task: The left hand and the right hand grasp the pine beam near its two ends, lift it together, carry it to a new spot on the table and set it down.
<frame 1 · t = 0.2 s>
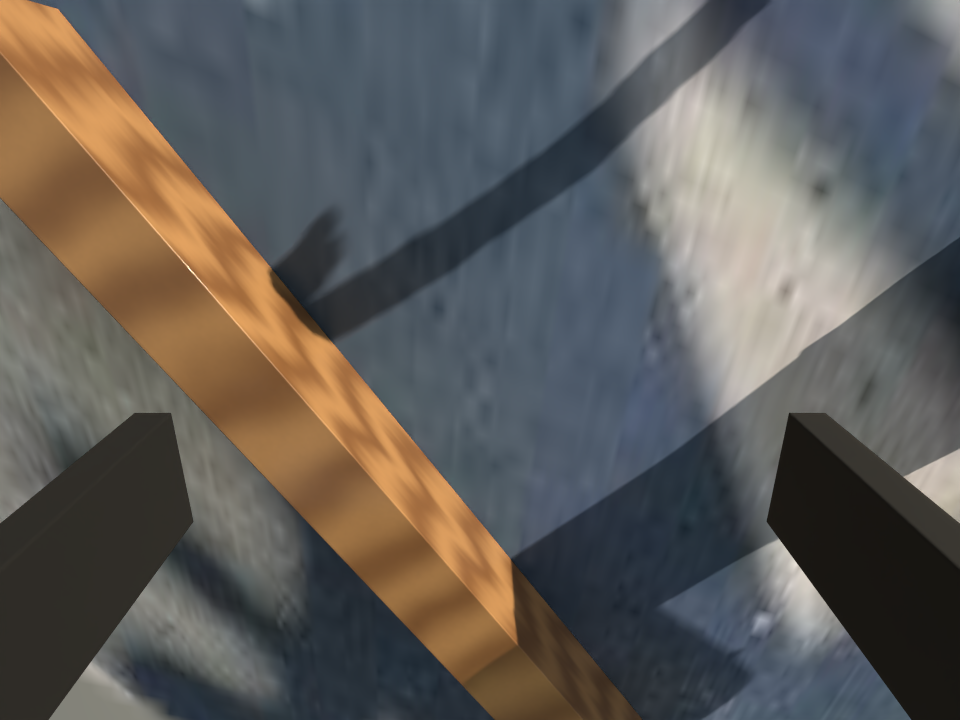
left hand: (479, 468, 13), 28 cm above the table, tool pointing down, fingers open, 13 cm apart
beam: (398, 473, 45), on the table
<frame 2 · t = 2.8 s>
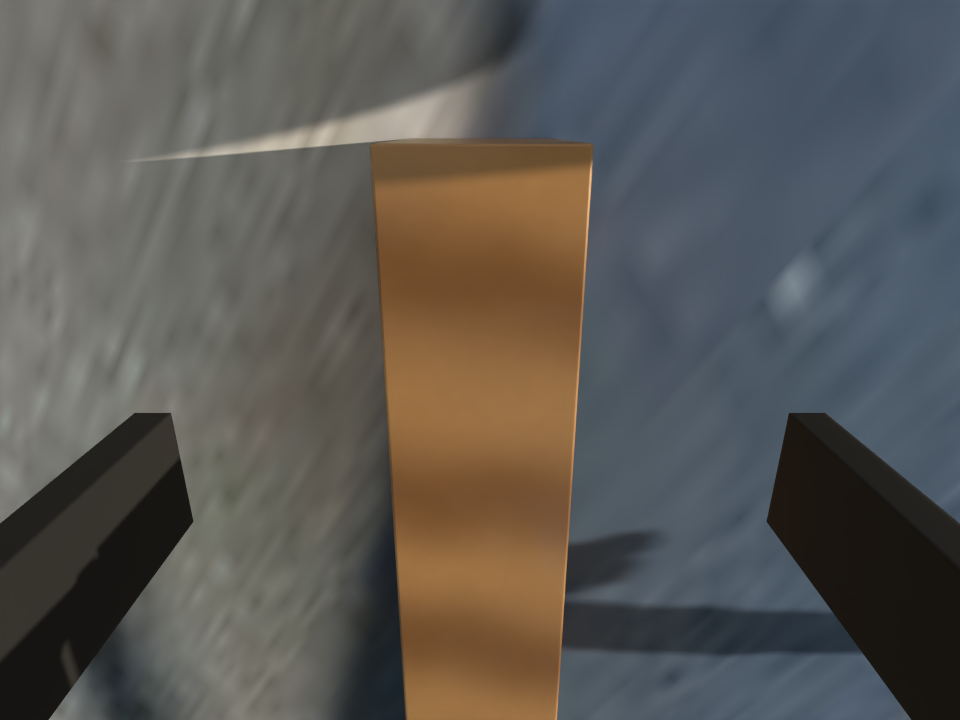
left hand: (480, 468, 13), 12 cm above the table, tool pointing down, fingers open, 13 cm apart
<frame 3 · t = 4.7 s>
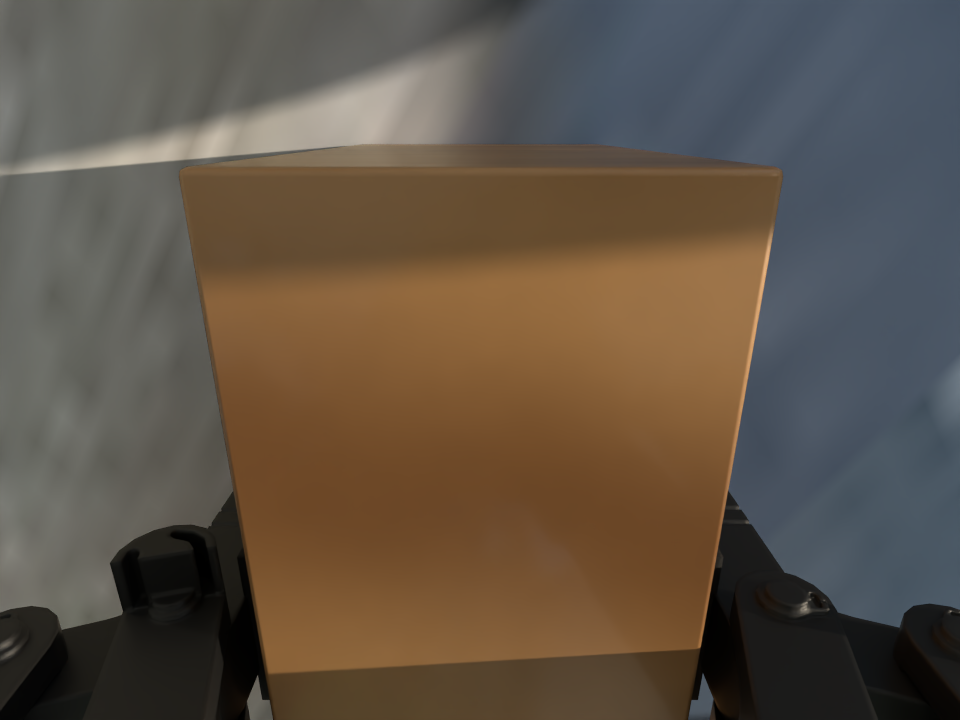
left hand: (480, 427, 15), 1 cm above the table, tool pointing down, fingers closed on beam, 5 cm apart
when the left hand's fingers open (2 cm above the table, at t = 11.3 s): beam drops 1 cm, on the table.
when the right hand's fingers open (2 cm above the table, at t = 11.3 s): beam drops 1 cm, on the table.
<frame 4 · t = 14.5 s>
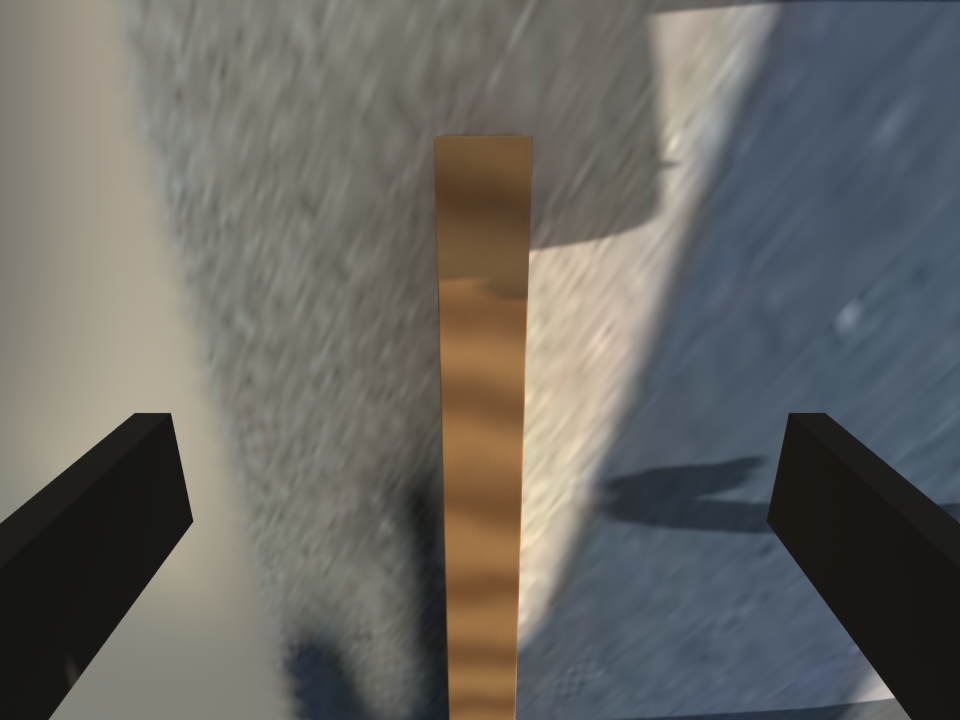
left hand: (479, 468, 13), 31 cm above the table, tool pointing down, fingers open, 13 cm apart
beam: (481, 566, 52), on the table
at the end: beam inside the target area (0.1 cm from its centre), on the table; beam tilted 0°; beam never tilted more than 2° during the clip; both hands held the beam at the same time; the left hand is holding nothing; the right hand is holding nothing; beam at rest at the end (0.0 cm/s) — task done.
